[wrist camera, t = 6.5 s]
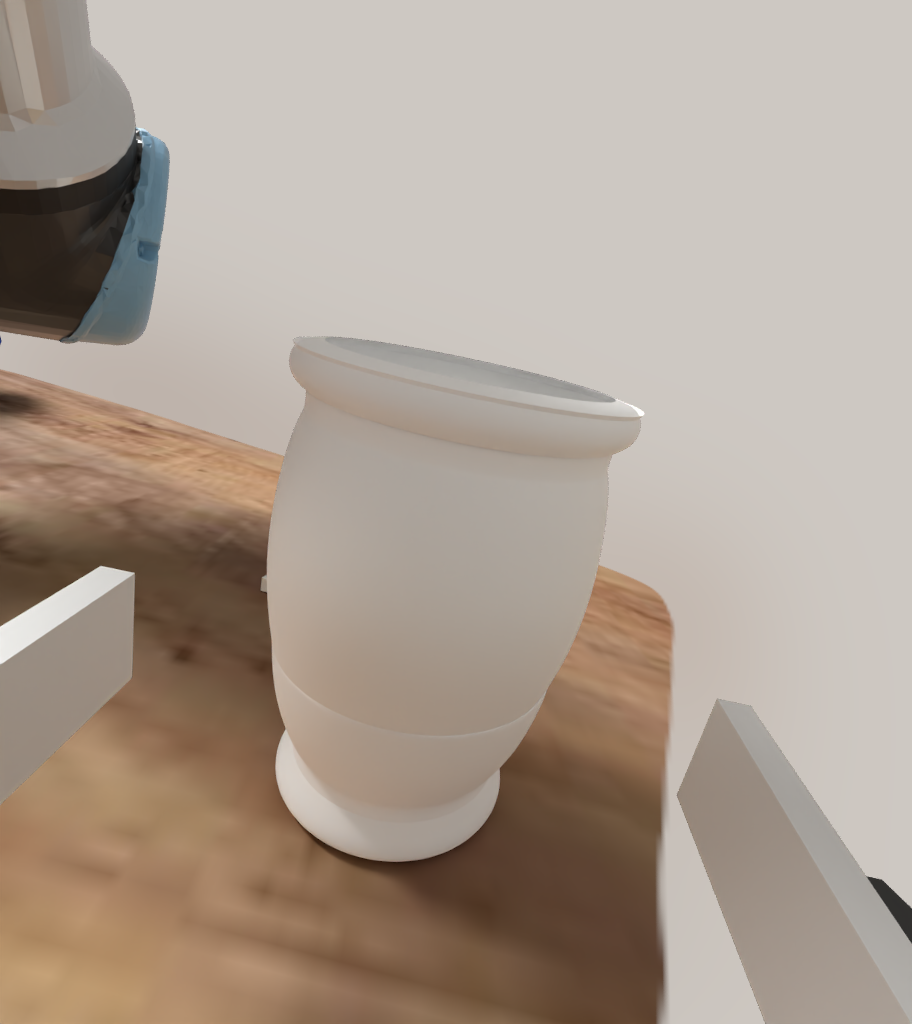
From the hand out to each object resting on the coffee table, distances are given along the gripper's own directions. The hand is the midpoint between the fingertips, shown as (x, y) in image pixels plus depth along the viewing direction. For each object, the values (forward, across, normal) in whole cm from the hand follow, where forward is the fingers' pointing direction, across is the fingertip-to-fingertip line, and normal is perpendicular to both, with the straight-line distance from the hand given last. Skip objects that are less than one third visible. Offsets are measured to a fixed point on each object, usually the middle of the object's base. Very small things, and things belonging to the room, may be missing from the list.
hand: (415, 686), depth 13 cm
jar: (+7, 0, -9) cm, 11 cm away
